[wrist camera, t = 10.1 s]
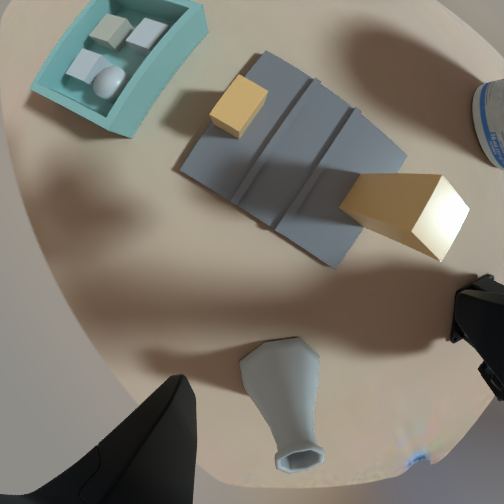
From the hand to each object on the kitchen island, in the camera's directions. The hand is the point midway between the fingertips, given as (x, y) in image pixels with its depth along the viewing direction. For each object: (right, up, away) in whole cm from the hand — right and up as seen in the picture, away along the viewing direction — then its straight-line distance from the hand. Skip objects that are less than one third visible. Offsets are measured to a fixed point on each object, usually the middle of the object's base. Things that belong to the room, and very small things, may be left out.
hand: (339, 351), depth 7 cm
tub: (-12, +17, +8) cm, 23 cm away
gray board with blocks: (+1, +10, +11) cm, 15 cm away
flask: (0, -8, +16) cm, 17 cm away
